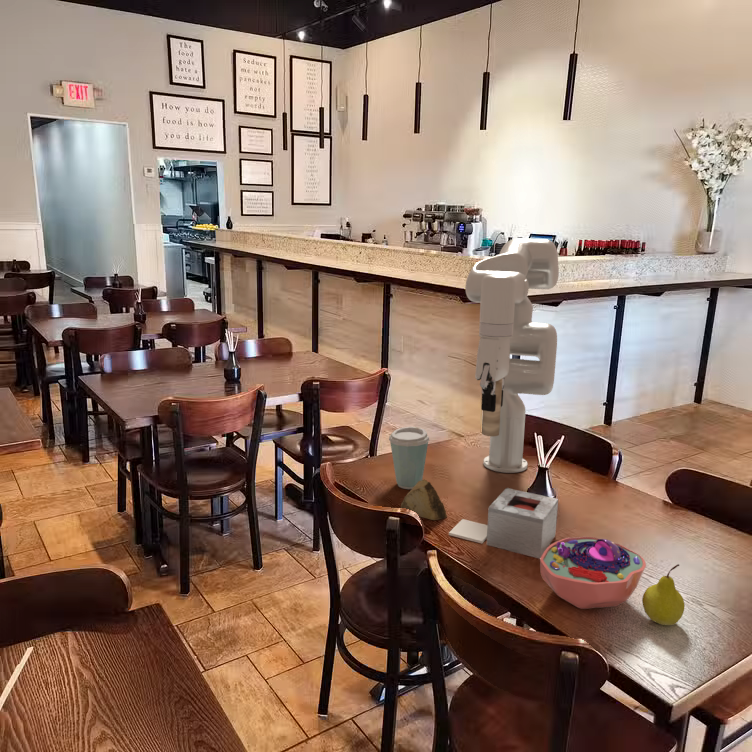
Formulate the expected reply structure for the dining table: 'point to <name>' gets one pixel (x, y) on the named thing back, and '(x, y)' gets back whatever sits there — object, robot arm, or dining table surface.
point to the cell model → (591, 571)
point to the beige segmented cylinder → (493, 414)
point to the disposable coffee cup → (409, 455)
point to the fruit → (663, 601)
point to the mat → (470, 531)
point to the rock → (424, 501)
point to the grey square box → (522, 522)
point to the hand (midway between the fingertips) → (491, 407)
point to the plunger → (524, 507)
